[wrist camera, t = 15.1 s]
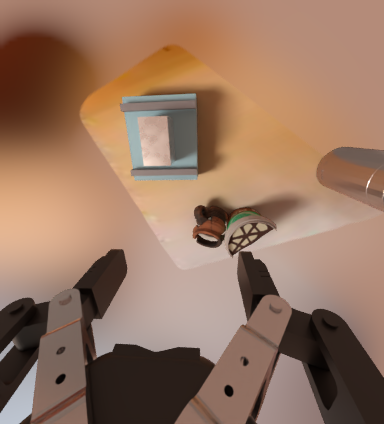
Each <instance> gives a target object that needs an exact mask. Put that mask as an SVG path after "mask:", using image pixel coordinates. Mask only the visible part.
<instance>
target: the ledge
mask: <svg viewBox="0 0 384 424" xmlns="http://www.w3.org/2000/svg"><path fill="white" fill-rule="evenodd" d="M122 101H123V104H120V108H121V111H122V112H124V113H125V120H126V126H127V133H128V139H129V146H130V152H131V159H132V165H133V169H132V170H131V176H134V178H135V180H197V178H198V138H197V97H196V93H194V94H174V95H153V96H133V97H122ZM151 116H168V117H171V118H173V126H174V141H175V157H176V161H175V162H174V163H173V164H172V165H171V166H144V163H143V156H142V148H141V141H140V133H139V125H138V118H137V117H151Z"/></svg>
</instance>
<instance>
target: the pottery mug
mask: <svg viewBox="0 0 384 424" xmlns="http://www.w3.org/2000/svg"><path fill="white" fill-rule="evenodd" d="M194 216H195V218H196V219H197V220H196V221H197V224H198V225H200V226H199V227H198V225H196V227H195V228H194V229H193V238H194V239H196V238H197V243H199V244H200V245H203V246H205V247H210V248H216V247H219V246H220V245H221V244H222V241H223V240H224V238H225V235H221V234H223V233H224V232H225V231H226V226H225V224H226V222H227V223H228V215H227V213H226V212H225V211H224V210H223V209H221V208H219V207H215V206H211V207H210V209H208V208H206V207H205V206H202V205H199V206H197V207H196V208H195V210H194ZM209 217H211V220H208V218H209ZM199 233H203V234H209V235H211V236H213V237H215V238H216V239H217V240H218V241H209V240H205V239H203V238H202V237H201V236H199V235H198V234H199Z"/></svg>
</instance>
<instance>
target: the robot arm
mask: <svg viewBox="0 0 384 424" xmlns="http://www.w3.org/2000/svg"><path fill="white" fill-rule="evenodd" d="M317 178H318V180H319V182H320V183H321V184H322V185H323V186H326V187H328V188H330V189H332V190H335V191H337V192H339V193H341V194H344V195H346V196H348V197H350V198H353V199H355V200H357V201H360V202H362V203H364V204H367V205H369V206H371V207H373V208H376V209H378V210H381V211H383V212H384V150H374V149H363V148H353V147H341V148H337V149H334V150H332V151H331V152H329V153H328V154H327V155H325V156H324V158H323V159H322V160H321V162H320V163H319V165H318V168H317ZM237 269H238V270H237V275H238V282H239V286H240V291H241V295H242V299H243V304H244V308H245V312H246V317H247V324H246V325H241V326H240V328H239V329H238V331H237V332H236V334H235V335H234V337H233V339H232V340H231V342H230V343H229V345H228V347H227V348H226V350H225V351H224V353H223V354H222V356H221V357H220V359H219V361H218V362H217V364H216V365H215V364H214V363H213V362H211V361H210V360H208V359H206V358H204V357H202V356H200V348H185V347H177V348H173V349H168V350H164V351H159V352H153V351H151V350H148V349H145V348H143V347H140V346H138V345H130V344H129V345H128V344H115V346H114V349H113V352H109V353H107V354H104V355H102V356H100V357H98V358H97V355H96V349H95V343H94V336H93V330H92V325H91V322H92V320H93V319H102V317H103V316H104V314H105V312H106V310H107V308H108V307H109V305H110V303H111V301H112V299H113V298H114V296H115V294H116V292H117V291H118V289H119V287H120V285H121V284H122V282H123V280H124V278H125V276H126V274H127V264H126V260H125V255H124V251H123V250H122V249H111V250H110V251H109V252H108V253H107V255H106V256H103V257H101V258H100V259H98V260H97V261H96V262H95V263H94V264H93V265H92V266H91V268H90V269H89V270H88V271H87V273H85V274H84V275H83V277H82V278H81V279H80V280H79V282H77V284H76V285H75V286H74V287H73V288H72V289H67V290H64V291H62V292H60V293H59V294H57V295H56V296H55V297H53V299H52V300H51V301H49V302H44V303H40V304H35V302H34V300H33V299H32V298H22V299H19V300H17V301H15V302H12V303H11V304H9V305H8V306H6V307H5V308H4V309H2V310H1V311H0V353H1V352H2V351H3V350H4V349H5V348H6V347H7V345H8V344H9V343H10V342H11V341H13V343H14V344H15V345H14V346H13V348H12V349H11V350H10V351H9V352H8V353H7V355H6V356H5V357H4V358H3V359H2V360H1V362H0V413H1V411H2V410H3V408H4V407H5V405H6V404H7V402H8V401H9V400H10V398H11V397H12V395H13V394H14V392H15V391H16V389H17V388H18V387H19V385H20V384H21V382H22V381H23V379H24V378H25V376H26V375H27V374H28V372H29V371H30V369H31V368H32V366H33V365H34V364H35V362H36V361H37V359H38V364H37V373H36V382H35V390H34V399H33V408H32V413H31V414H30V415H29V416H28V417H27V418H26V419H24V420H23V421H22V422H21V423H20V424H257V423H256V420H257V417H258V415H259V412H260V410H261V407H262V404H263V401H264V398H265V395H266V392H267V389H268V386H269V383H270V380H271V378H272V375H273V373H274V370H275V367H276V365H277V362H278V360H279V357H280V354H281V353H282V354H285V355H287V356H290V357H292V358H295V359H298V360H300V361H302V364H303V366H304V369H305V372H306V375H307V377H308V380H309V383H310V385H311V388H312V391H313V393H314V396H315V399H316V402H317V404H318V407H319V410H320V412H321V415H322V418H323V420H324V423H325V424H384V377H383V376H382V375H381V373H380V372H379V370H378V369H377V367H376V366H375V364H374V363H373V361H372V360H371V358H370V357H369V355H368V354H367V353H366V351H365V350H364V348H363V347H362V345H361V344H360V342H359V341H358V340H357V338H356V336H355V335H354V333H353V332H352V331H351V329H350V328H349V326H348V325H347V323H346V322H345V321H344V320H343V319H342V318H341V317H340V316H338V315H337V314H335V313H333V312H331V311H328V310H325V309H316V310H314V311H313V312H312V315H311V314H307V313H304V312H301V311H298V310H295V309H293V308H291V307H290V305H289V304H288V303H287V302H286V301H285V300H284V299H283V298H281V297H280V296H279V294H278V291H277V289H276V287H275V285H274V283H273V281H272V278H271V277H270V274H269V272H268V270H267V267H266V265H265V264H264V263H263V262H262V261H261V260H260V259H254V258H253V255H252V253H251V252H244V251H239V257H238V268H237Z"/></svg>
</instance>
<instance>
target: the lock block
mask: <svg viewBox="0 0 384 424" xmlns="http://www.w3.org/2000/svg"><path fill="white" fill-rule="evenodd" d="M137 118H138V125H139V133H140V141H141V148H142V156H143V163H144V166H171V165H172V164H173V163H174V162H175V161H176V157H175V141H174V126H173V118H171V117H168V116H151V117H137Z"/></svg>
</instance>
